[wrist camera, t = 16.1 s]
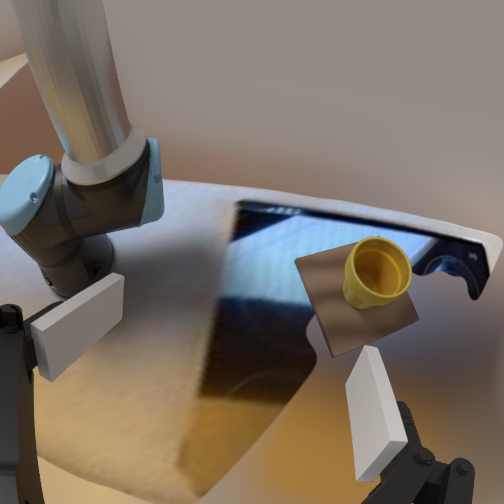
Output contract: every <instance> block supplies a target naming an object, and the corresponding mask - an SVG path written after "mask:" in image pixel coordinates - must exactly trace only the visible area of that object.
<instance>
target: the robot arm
mask: <svg viewBox="0 0 504 504" xmlns="http://www.w3.org/2000/svg"><path fill="white" fill-rule="evenodd" d="M11 3H12V7H13V11H14V15H15V19H16V22H17V26H18V30H19V33H20V36H21V40H22V43H23V46H24V49H25V52H26V55H27V58H28V61H29V64H30V67H31V70H32V73H33V75H34V78H35V81H36V83H37V86H38V89H39V91H40V94H41V96H42V99H43V101H44V104H45V106H46V109H47V111H48V113H49V116H50V118H51V121H52V123H53V125H54V128H55V130H56V132H57V134H58V136H59V139H60V141H61V143H62V145H63V147H64V149H65V154H64V156H63V159H62V163H61V164H58V165H54V164H53V161H52V160H51V159H49V158H48V157H47V156H44V155H36V156H33V157H30V158H28V159H27V160H25V161H23V162H22V163H21V164H19V165H18V166H17V167H16V168H15V169H14V170H13V171H12V172H11V173H10V175H9V176H8V177H7V178H6V180H5V181H4V183H3V184H2V186H1V188H0V225H1V226H2V227H3V228H4V230H5V232H6V234H7V235H8V236H10V237H11V238H12V239H13V240H14V241H15V242H16V243H17V244H18V245H19V246H20V247H21V248H22V249H23V250H24V251H25V252H26V253H27V254H28V255H29V256H30V257H31V258H32V259H34V260H35V261H36V262H37V263H38V265H39V267H40V270H41V272H42V275H43V277H44V279H45V281H46V283H47V284H48V285H49V286H50V288H52V289H53V290H54V291H55V292H56V293H58V294H59V295H61V296H64V297H68V298H70V299H68V300H67V301H65V302H63V301H59V302H55V303H52V304H50V305H49V306H47V307H46V308H45V309H42V310H41V311H40V312H37V313H36V314H34V315H33V316H31V317H29V318H28V319H26V320H25V321H23V315H22V309H21V308H20V307H19V306H17V305H14V304H5V305H2V306H0V504H45V502H44V498H43V493H42V488H41V481H40V474H39V467H38V460H37V450H36V439H35V425H34V373H33V368H34V367H36V366H37V365H38V369H39V374H40V375H41V376H42V377H44V378H45V379H47V380H49V381H50V382H53V381H54V380H55V379H56V378H57V377H58V376H59V375H60V374H62V373H63V372H64V371H65V370H66V369H67V368H68V367H69V366H70V365H71V364H73V363H74V362H75V361H76V360H77V359H78V358H79V357H80V356H81V355H82V354H84V353H85V352H86V351H87V350H88V349H89V348H90V347H91V346H92V345H94V344H95V343H96V342H97V341H98V340H99V339H100V338H101V337H103V336H104V335H105V334H106V333H107V332H108V331H109V330H110V329H112V328H113V327H114V326H115V325H116V324H117V323H118V322H120V321H121V320H122V312H123V292H124V278H125V276H122V275H119V274H116V273H114V272H113V273H111V274H110V275H108V276H107V274H108V272H109V270H110V267H111V264H112V259H113V249H112V245H111V242H110V240H109V238H108V237H107V235H106V233H110V232H115V231H119V230H124V229H129V228H134V227H140V226H142V225H143V224H147V223H150V222H154V221H157V220H159V219H160V218H161V217H162V216H163V214H164V195H163V183H162V172H161V157H160V145H159V141H158V140H157V139H151V138H148V139H146V136H145V133H144V131H143V129H142V128H141V127H140V126H138V125H137V124H135V123H132V122H129V120H128V116H127V112H126V108H125V104H124V100H123V96H122V92H121V88H120V84H119V80H118V75H117V71H116V66H115V62H114V57H113V52H112V47H111V42H110V37H109V32H108V27H107V21H106V16H105V10H104V4H103V0H11ZM345 387H346V394H347V402H348V409H349V417H350V424H351V433H352V442H353V452H354V463H355V474H356V481H362V482H373V481H374V480H375V479H376V478H377V477H378V476H379V475H380V477H381V482H380V483H379V485H377V486H376V487H375V488H374V489H373V490H372V491H371V492H370V493H369V495H368V497H367V498H366V499H365V500H364V501H363V502H362V503H361V504H411V503H414V504H472V497H473V488H474V478H475V470H474V467H473V465H472V464H471V463H470V462H469V461H468V460H466V459H464V458H456V459H454V460H453V461H452V462H451V463H450V464H445V463H441V462H438V461H436V460H435V457H434V455H433V453H432V452H430V450H428V449H427V448H424V447H422V445H421V442H420V439H419V436H418V433H417V430H416V426H414V421H413V419H412V415H411V412H410V409H409V408H408V407H407V406H406V404H405V403H404V402H401V401H396V400H395V397H394V394H393V391H392V388H391V385H390V382H389V379H388V376H387V373H386V370H385V367H384V364H383V361H382V359H381V356H380V353H379V350H378V348H376V347H372V346H367V345H364V347H363V349H362V352H361V354H360V356H359V358H358V360H357V362H356V364H355V366H354V368H353V370H352V372H351V375H350V376H349V378H348V380H347V382H346V384H345Z"/></svg>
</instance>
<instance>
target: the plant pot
mask: <svg viewBox="0 0 504 504" xmlns="http://www.w3.org/2000/svg"><path fill="white" fill-rule="evenodd" d="M411 278H412V269H411V265H410V262H409V259H408V257H407V256H406V254H405V253H404V251H403V250H402V249H401V248H400V247H399V246H398V245H397V244H395V243H394V242H392V241H390V240H388V239H386V238H383V237H375V236H374V237H367V238H364V239H363V240H361V241H359V242H358V243H357V244H356V245H355V247H354V248H353V250H352V251H351V253H350V254H349V256H348V258H347V261H346V264H345V280H344V284H343V293H344V296H345V298H346V300H347V301H348V303H349V304H350V305H352V306H353V307H355V308H358V309H367V308H370V307H372V306H375V305H378V306H381V305H386V304H389V303H391V302H393V301H395V300H396V299H398V298H399V297H400V296H401V295H402V294H404V293H405V291H406V290H407V289H408V287H409V285H410V283H411Z"/></svg>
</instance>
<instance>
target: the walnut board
mask: <svg viewBox="0 0 504 504" xmlns="http://www.w3.org/2000/svg"><path fill="white" fill-rule="evenodd" d="M377 237H379V236H377ZM357 243H358V242H355V243H352V244H348V245H345V246H341V247H337V248H334V249H330V250H326V251H323V252H319V253H315V254H311V255H308V256H304V257H300V258H297V259H295V264H296V267H297V269H298V272H299V274H300V277H301V279H302V282H303V284H304V287H305V289H306V292H307V294H308V297H309V299H310V302H311V304H312V307H313V309H314V312H315V314H316V317H317V320H318V322H319V325H320V327H321V330H322V332H323V335H324V338H325V340H326V343H327V346H328V348H329V351H330V353H331V356H332V358H333V357H336V356H338V355H341V354H344V353H346V352H349V351H351V350H354V349H356V348H358V347H361V346H363V345H366V344H368V343H370V342H373V341H375V340H377V339H380V338H382V337H384V336H386V335H388V334H391V333H393V332H395V331H397V330H399V329H401V328H403V327H405V326H408V325H409V324H412V323H414V322H416V321H418V320H419V318H418V315H417V313H416V310H415V308H414V306H413V304H412V301H411V299H410V297H409V295H408V293H407V290H406V291H405V293H404V294H402V295H401V296H400V297H399V298H398V299H396V300H395V301H393V302H391V303H389V304H386V305H381V306H378V305H375V306H372V307H370V308H367V309H358V308H355V307H353V306H352V305H350V304H349V303H348V301H347V300H346V298H345V296H344V293H343V284H344V280H345V264H346V261H347V258H348V256H349V254H350V253H351V251H352V250H353V248H354V247H355V245H356V244H357Z"/></svg>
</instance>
